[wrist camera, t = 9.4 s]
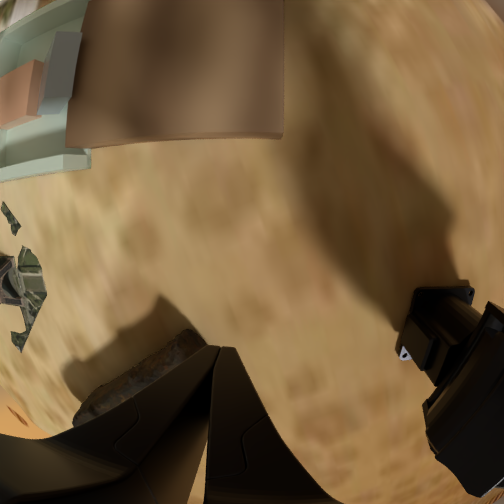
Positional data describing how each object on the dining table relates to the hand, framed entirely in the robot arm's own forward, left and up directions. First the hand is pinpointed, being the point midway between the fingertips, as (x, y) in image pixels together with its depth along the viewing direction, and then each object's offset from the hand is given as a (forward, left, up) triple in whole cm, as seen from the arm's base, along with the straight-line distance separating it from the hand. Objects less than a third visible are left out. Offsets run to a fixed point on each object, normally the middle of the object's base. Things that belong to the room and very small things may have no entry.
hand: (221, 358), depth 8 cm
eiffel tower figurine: (+25, +4, -13) cm, 28 cm away
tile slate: (+13, -13, -10) cm, 21 cm away
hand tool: (+10, +13, -12) cm, 21 cm away
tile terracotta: (+20, -13, -9) cm, 26 cm away
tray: (+18, -14, -12) cm, 25 cm away
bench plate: (+5, -14, -12) cm, 19 cm away
